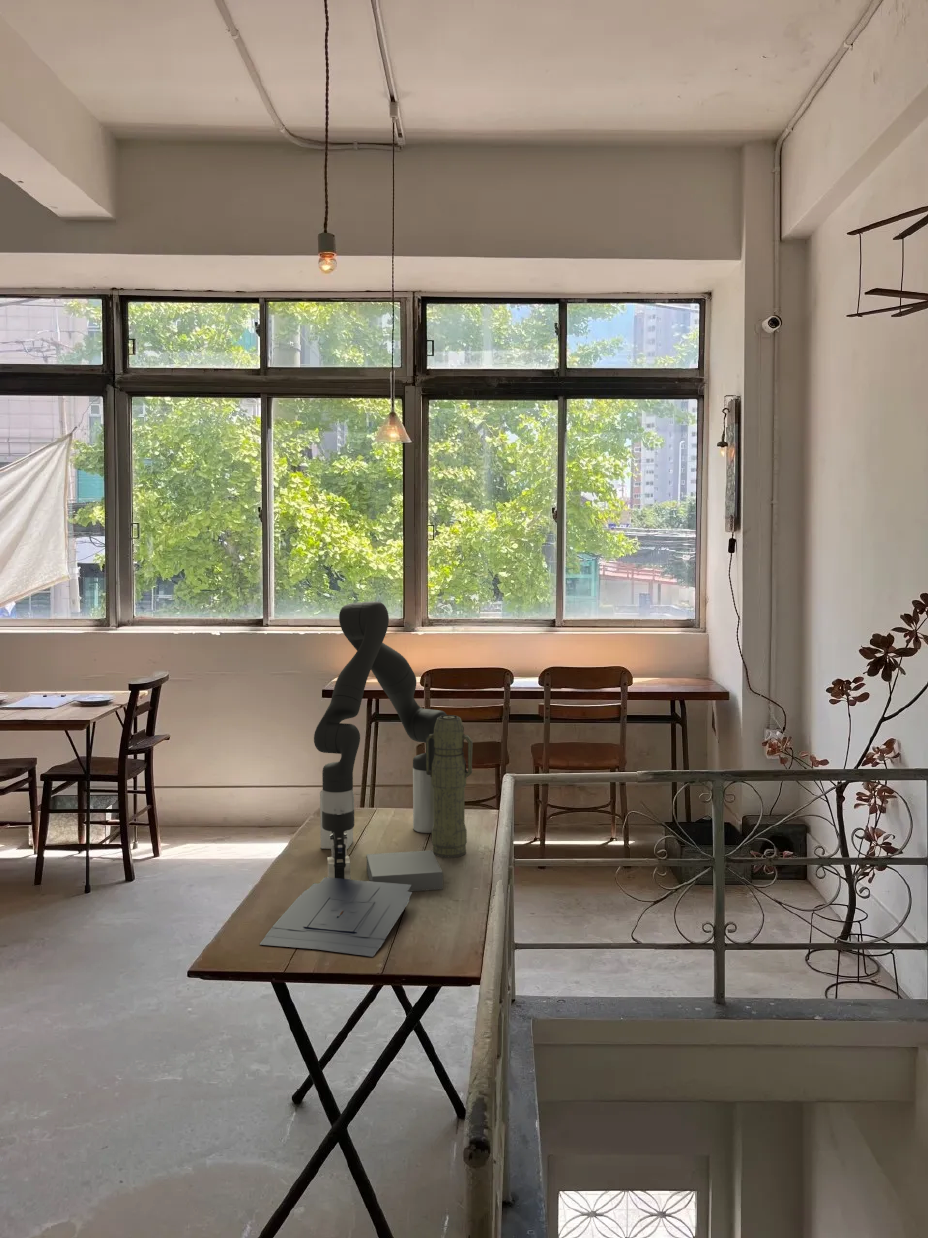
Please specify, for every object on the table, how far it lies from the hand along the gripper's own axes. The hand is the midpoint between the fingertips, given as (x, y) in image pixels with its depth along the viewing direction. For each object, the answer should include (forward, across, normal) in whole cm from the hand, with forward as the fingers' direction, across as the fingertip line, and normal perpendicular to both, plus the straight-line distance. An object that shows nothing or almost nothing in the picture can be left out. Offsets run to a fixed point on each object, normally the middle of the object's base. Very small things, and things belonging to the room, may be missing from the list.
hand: (338, 878), depth 230 cm
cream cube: (0, 0, 0) cm, 0 cm away
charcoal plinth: (0, +2, +15) cm, 15 cm away
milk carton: (+1, -27, +1) cm, 27 cm away
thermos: (+1, -16, +29) cm, 33 cm away
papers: (+1, +26, 0) cm, 26 cm away
